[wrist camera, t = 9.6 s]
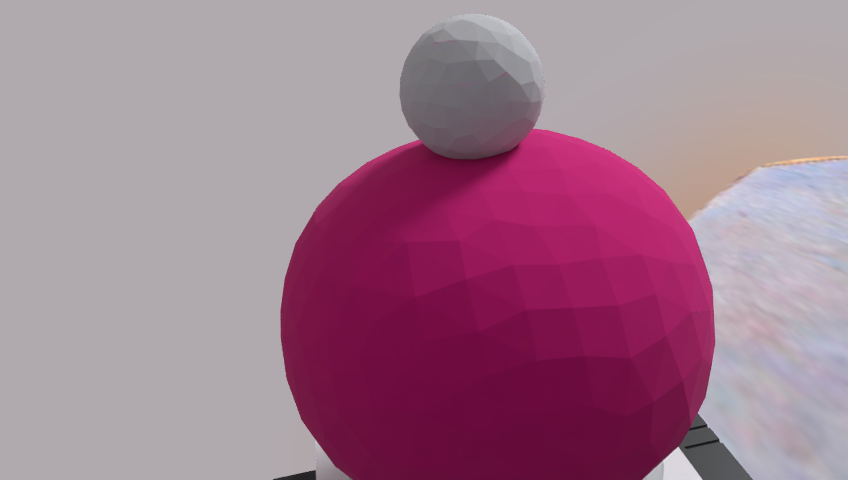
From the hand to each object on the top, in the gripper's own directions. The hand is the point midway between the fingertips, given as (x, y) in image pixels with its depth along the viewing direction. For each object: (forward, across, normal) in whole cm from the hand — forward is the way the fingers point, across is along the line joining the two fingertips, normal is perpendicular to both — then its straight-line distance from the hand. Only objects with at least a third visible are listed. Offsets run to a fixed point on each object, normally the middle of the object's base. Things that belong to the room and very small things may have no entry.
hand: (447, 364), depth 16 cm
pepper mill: (-5, 0, -11) cm, 12 cm away
